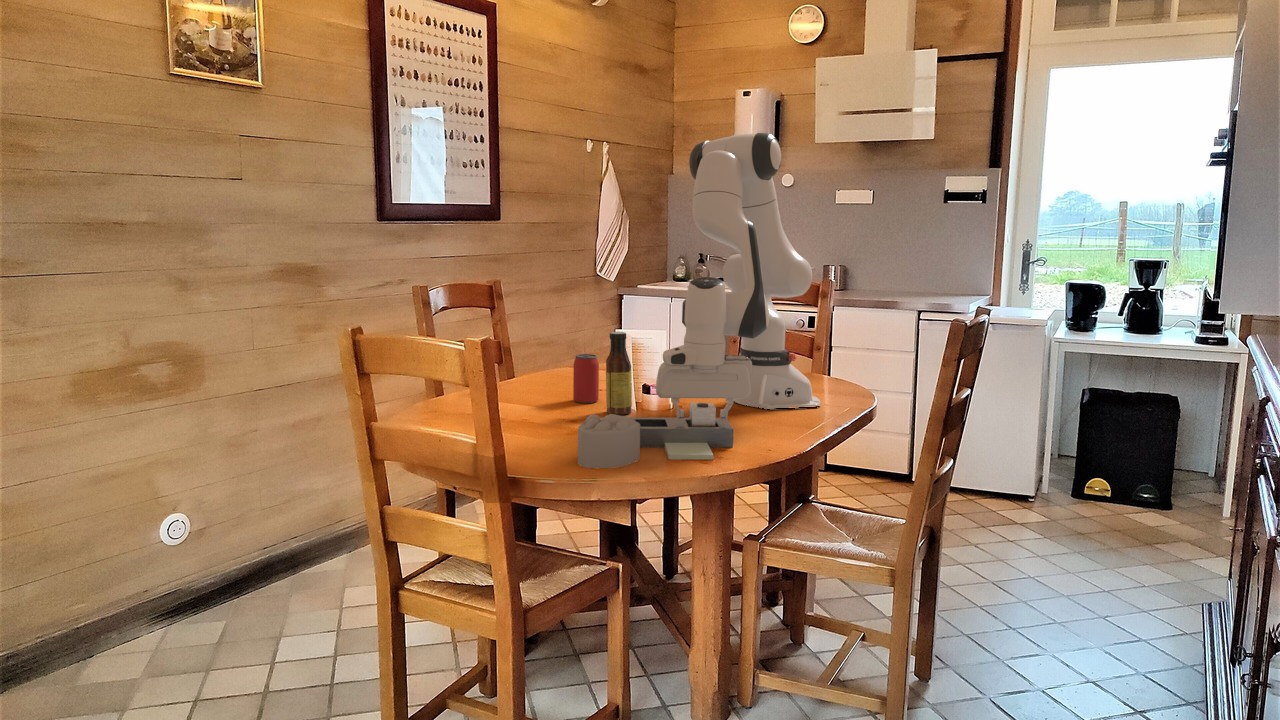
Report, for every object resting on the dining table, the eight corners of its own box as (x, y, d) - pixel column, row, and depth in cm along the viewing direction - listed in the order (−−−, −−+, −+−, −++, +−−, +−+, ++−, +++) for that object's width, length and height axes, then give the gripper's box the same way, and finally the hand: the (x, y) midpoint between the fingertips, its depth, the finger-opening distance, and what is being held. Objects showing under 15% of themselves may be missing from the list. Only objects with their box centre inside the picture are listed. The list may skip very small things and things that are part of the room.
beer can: (600, 399, 225) (600, 354, 223) (596, 404, 219) (597, 358, 217) (575, 398, 226) (575, 353, 224) (571, 403, 219) (571, 357, 217)
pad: (706, 447, 180) (707, 442, 180) (713, 459, 171) (713, 454, 171) (664, 447, 180) (664, 442, 179) (668, 459, 171) (668, 454, 171)
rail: (725, 435, 190) (725, 417, 190) (732, 447, 181) (733, 429, 180) (617, 435, 189) (617, 417, 188) (619, 447, 179) (619, 428, 178)
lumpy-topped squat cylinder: (646, 458, 172) (647, 416, 170) (605, 473, 161) (606, 428, 160) (606, 449, 178) (606, 408, 176) (564, 462, 167) (564, 419, 166)
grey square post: (711, 438, 188) (712, 401, 186) (714, 444, 183) (715, 406, 181) (688, 438, 187) (689, 401, 186) (691, 444, 182) (692, 406, 181)
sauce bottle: (636, 413, 210) (638, 333, 207) (619, 417, 206) (620, 335, 202) (617, 408, 214) (619, 330, 211) (600, 412, 210) (601, 332, 207)
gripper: (749, 352, 186) (747, 414, 188) (655, 351, 184) (654, 414, 187) (755, 357, 179) (752, 421, 182) (658, 356, 178) (656, 421, 180)
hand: (702, 418), depth 184 cm, fingers open, 8 cm apart
